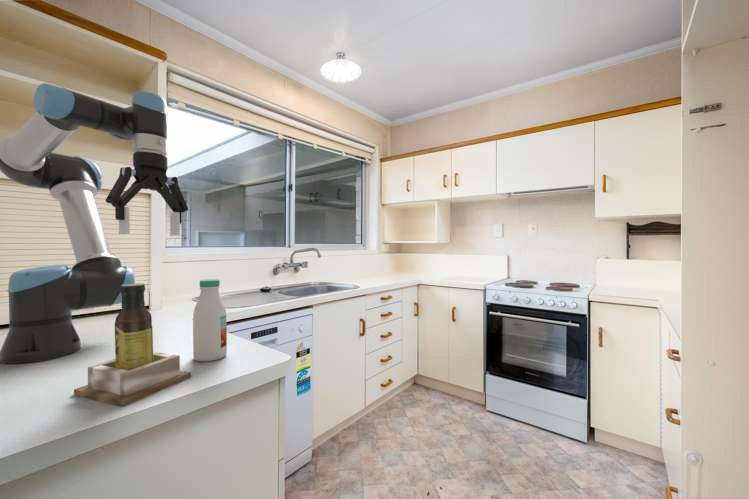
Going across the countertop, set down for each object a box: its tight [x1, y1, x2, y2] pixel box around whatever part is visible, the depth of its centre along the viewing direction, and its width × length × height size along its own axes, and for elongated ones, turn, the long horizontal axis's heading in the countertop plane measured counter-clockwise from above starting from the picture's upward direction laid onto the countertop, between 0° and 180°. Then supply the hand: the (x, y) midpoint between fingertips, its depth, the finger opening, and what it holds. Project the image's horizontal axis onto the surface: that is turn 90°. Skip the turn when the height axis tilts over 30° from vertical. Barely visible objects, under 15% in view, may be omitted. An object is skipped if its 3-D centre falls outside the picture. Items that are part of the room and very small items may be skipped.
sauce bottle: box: [114, 282, 154, 370], centre depth 67 cm, size 6×6×20 cm
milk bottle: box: [192, 278, 228, 362], centre depth 84 cm, size 8×8×20 cm
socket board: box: [73, 351, 192, 407], centre depth 67 cm, size 14×14×5 cm
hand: (151, 234), depth 87 cm, fingers open, 13 cm apart
